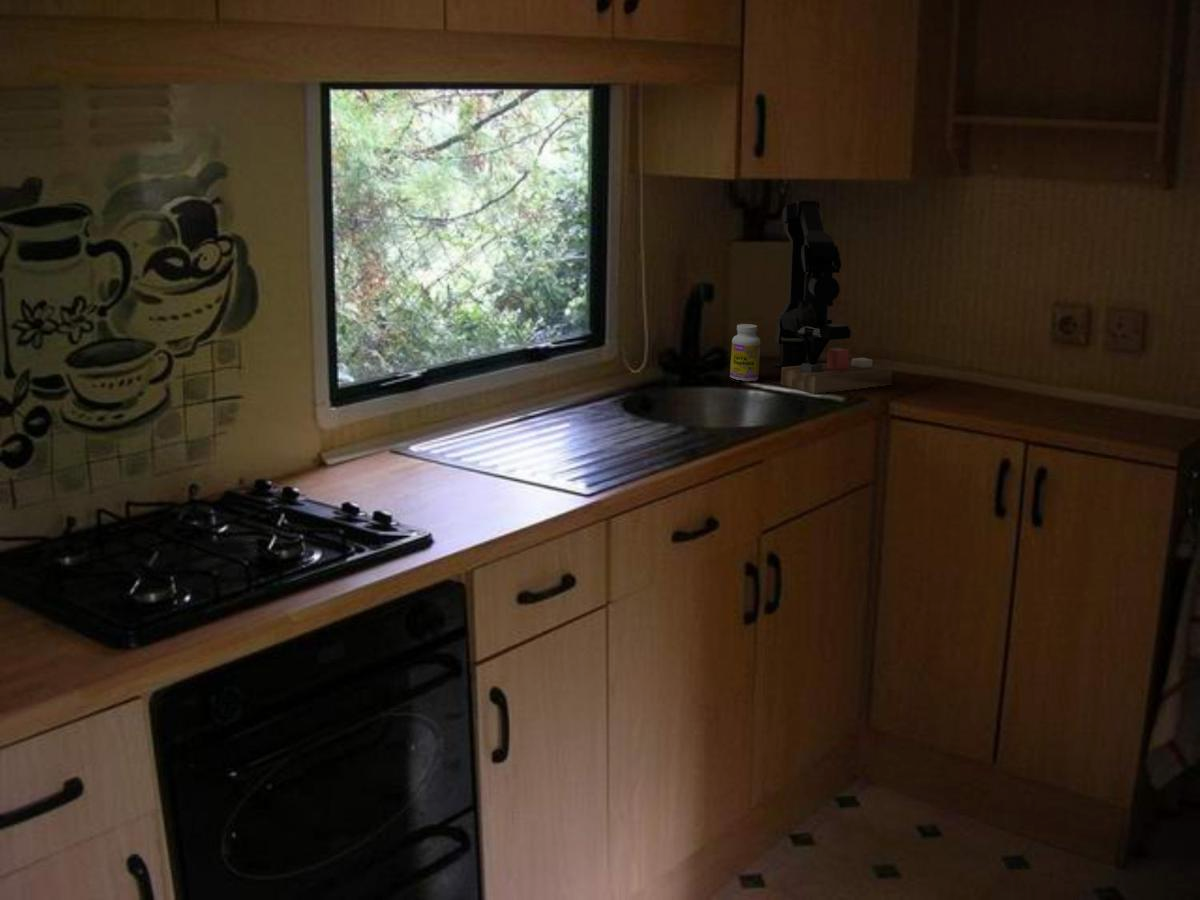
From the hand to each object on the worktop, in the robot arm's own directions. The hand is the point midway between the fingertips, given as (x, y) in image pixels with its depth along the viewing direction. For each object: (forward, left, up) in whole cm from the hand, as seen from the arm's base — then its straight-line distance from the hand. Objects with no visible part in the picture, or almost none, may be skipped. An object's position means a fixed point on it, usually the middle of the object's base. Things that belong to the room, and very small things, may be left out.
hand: (812, 364), depth 311 cm
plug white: (0, +15, -5) cm, 16 cm away
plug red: (0, +8, -2) cm, 8 cm away
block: (0, +7, -5) cm, 9 cm away
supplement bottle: (-14, -9, -6) cm, 17 cm away
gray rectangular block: (0, 0, -5) cm, 5 cm away
